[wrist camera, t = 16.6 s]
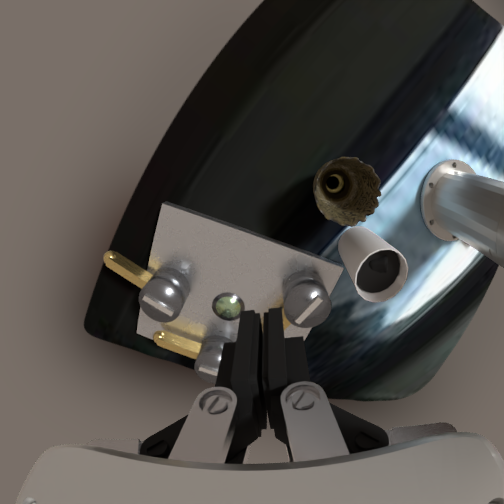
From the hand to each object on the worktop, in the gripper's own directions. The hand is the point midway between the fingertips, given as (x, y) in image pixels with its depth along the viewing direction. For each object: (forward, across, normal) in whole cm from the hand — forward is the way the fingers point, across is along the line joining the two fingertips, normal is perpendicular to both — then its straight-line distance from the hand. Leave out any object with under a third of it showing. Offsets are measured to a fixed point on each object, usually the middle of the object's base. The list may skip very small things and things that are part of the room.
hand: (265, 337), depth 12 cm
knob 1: (+26, +18, +7) cm, 32 cm away
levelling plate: (+27, +7, +14) cm, 31 cm away
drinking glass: (+27, -12, +7) cm, 31 cm away
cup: (+27, -9, -2) cm, 29 cm away
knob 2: (+26, -1, +15) cm, 30 cm away
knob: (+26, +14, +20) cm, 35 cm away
